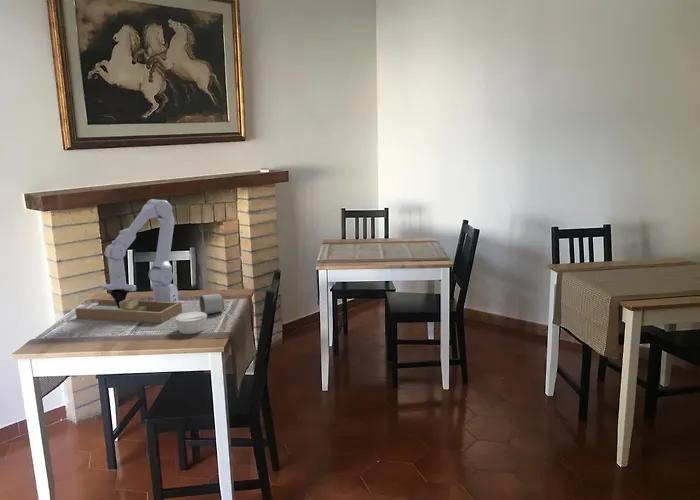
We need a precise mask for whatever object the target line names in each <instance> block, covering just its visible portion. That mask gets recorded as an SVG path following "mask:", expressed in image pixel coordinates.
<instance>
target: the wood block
mask: <svg viewBox="0 0 700 500" xmlns="http://www.w3.org/2000/svg"><path fill="white" fill-rule="evenodd" d="M138 300H139V299H136V298H125V300H123V301H121V302H119V305H120V310H130V311H136V310H138V309H139V304H138Z"/></svg>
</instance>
